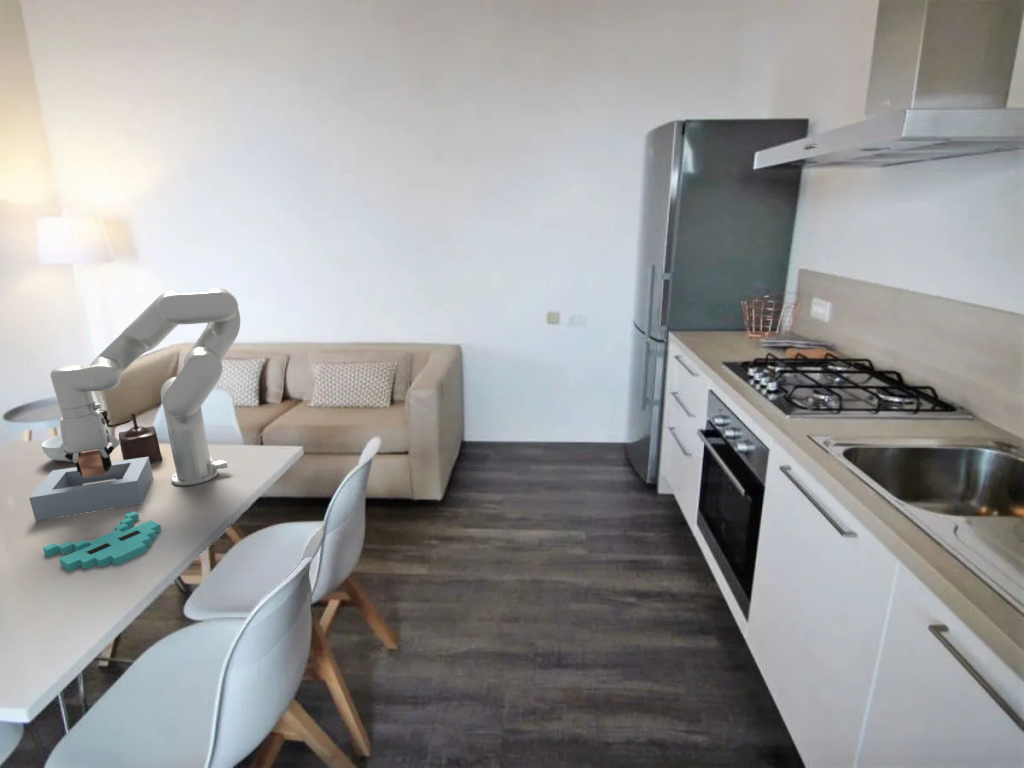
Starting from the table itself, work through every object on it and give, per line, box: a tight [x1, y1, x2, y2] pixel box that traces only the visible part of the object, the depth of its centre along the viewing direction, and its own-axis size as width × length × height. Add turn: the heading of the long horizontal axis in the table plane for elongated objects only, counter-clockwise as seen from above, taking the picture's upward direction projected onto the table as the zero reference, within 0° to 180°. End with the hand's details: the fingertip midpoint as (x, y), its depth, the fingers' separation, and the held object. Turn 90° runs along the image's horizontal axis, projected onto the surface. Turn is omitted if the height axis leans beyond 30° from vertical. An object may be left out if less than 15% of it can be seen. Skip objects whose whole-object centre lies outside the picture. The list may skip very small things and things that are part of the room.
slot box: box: [28, 457, 154, 522], centre depth 160 cm, size 24×18×7 cm
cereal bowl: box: [41, 434, 82, 463], centre depth 188 cm, size 17×17×7 cm
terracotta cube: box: [77, 449, 106, 478], centre depth 158 cm, size 5×5×6 cm
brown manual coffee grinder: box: [99, 409, 163, 464], centre depth 183 cm, size 16×11×18 cm
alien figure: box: [42, 511, 162, 572], centre depth 137 cm, size 20×2×20 cm
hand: (95, 470), depth 159 cm, fingers closed on terracotta cube, 5 cm apart
